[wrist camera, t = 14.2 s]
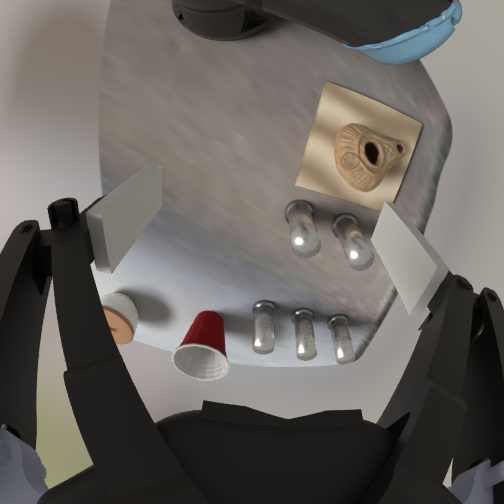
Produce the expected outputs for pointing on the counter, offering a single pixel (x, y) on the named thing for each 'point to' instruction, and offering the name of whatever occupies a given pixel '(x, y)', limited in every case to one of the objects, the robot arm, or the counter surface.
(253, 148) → the counter surface
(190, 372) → the plastic cup
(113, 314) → the lidded jar
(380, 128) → the ash board
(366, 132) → the pottery oil lamp
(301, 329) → the posts
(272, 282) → the counter surface
